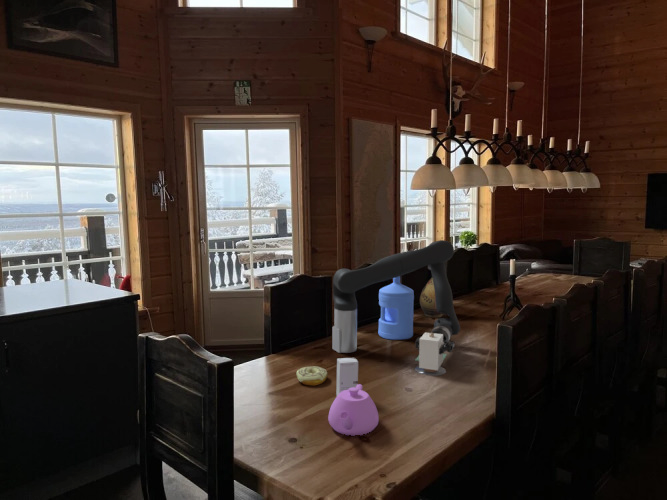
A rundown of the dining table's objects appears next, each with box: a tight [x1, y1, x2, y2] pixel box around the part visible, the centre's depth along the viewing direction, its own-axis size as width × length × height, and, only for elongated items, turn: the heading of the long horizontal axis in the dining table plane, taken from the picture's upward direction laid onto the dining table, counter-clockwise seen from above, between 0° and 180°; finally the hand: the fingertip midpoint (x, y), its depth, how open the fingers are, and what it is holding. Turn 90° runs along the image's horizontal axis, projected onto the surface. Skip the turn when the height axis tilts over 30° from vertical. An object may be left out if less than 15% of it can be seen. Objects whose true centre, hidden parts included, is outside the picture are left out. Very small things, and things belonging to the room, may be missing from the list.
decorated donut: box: [296, 365, 328, 387], centre depth 167 cm, size 10×11×4 cm
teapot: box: [327, 383, 380, 437], centre depth 133 cm, size 14×20×11 cm
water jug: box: [377, 276, 415, 341], centre depth 219 cm, size 16×16×28 cm
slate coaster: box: [414, 365, 447, 377], centre depth 176 cm, size 11×11×1 cm
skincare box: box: [335, 357, 359, 397], centre depth 152 cm, size 6×4×12 cm
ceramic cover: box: [418, 331, 444, 370], centre depth 176 cm, size 9×7×12 cm
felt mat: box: [414, 353, 447, 362], centre depth 190 cm, size 12×10×1 cm
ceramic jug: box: [419, 265, 444, 318], centre depth 257 cm, size 17×15×30 cm
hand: (430, 350), depth 173 cm, fingers closed on ceramic cover, 6 cm apart
